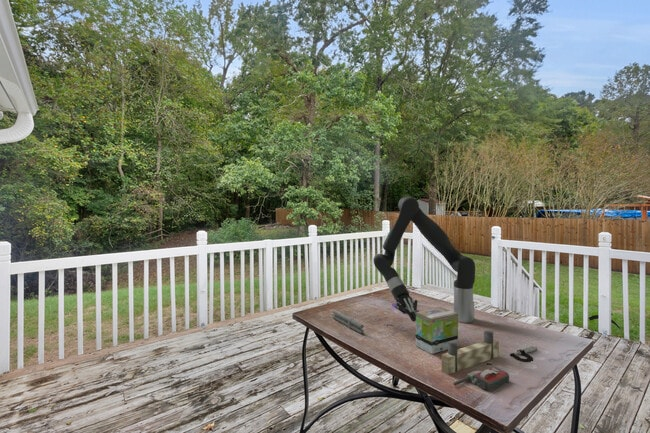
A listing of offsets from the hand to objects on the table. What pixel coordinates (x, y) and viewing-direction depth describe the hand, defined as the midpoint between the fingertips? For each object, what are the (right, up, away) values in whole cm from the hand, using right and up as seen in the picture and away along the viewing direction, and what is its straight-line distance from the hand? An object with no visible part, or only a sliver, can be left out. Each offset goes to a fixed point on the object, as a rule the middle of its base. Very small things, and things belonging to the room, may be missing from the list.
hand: (415, 320), depth 148 cm
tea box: (+6, -8, -11) cm, 15 cm away
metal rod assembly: (-30, -8, +15) cm, 34 cm away
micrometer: (+39, -8, -21) cm, 45 cm away
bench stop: (+14, -8, -26) cm, 30 cm away
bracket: (+4, -6, +42) cm, 42 cm away
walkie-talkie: (+11, -9, -40) cm, 42 cm away
